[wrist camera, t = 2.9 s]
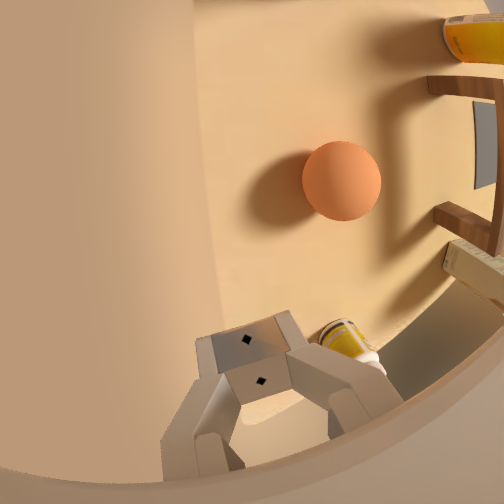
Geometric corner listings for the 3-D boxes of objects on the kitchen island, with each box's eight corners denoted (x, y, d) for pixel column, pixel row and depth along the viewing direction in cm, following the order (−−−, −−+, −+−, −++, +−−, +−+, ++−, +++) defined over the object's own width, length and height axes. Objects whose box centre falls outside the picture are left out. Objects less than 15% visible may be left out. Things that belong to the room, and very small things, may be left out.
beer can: (461, 72, 20) (565, 87, 7) (434, 34, 18) (547, 33, 4) (471, 45, 18) (564, 54, 5) (445, 10, 16) (544, 5, 3)
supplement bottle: (312, 349, 32) (342, 402, 24) (325, 318, 30) (362, 372, 22) (344, 345, 33) (377, 393, 26) (358, 316, 31) (397, 364, 24)
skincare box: (440, 268, 32) (501, 317, 21) (448, 240, 30) (516, 285, 19) (463, 263, 33) (518, 304, 23) (471, 236, 31) (531, 276, 21)
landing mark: (472, 101, 22) (474, 101, 22) (506, 106, 23) (507, 106, 23) (474, 189, 28) (475, 189, 28) (506, 177, 29) (507, 178, 29)
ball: (284, 145, 21) (318, 154, 15) (348, 133, 21) (394, 141, 16) (296, 215, 23) (329, 243, 18) (355, 198, 24) (397, 221, 19)
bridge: (433, 221, 28) (494, 258, 19) (426, 75, 20) (502, 79, 11) (447, 216, 28) (506, 249, 20) (442, 77, 20) (514, 83, 12)
